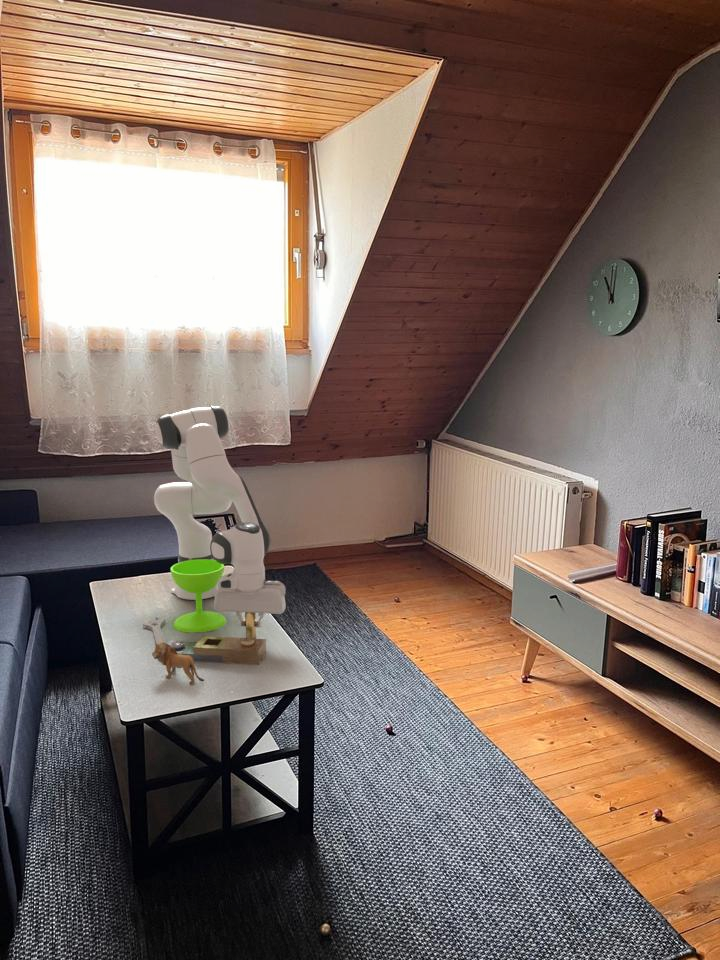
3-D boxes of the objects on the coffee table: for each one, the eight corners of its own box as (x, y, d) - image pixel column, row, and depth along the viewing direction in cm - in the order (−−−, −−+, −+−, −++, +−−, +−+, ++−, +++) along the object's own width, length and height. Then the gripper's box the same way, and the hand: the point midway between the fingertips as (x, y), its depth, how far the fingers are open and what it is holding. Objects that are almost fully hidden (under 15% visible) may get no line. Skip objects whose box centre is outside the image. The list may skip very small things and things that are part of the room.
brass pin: (247, 640, 217) (246, 607, 216) (257, 641, 217) (256, 608, 215) (244, 644, 215) (243, 611, 213) (254, 645, 214) (253, 612, 212)
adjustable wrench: (168, 652, 210) (168, 647, 210) (144, 655, 209) (144, 649, 208) (164, 620, 234) (164, 615, 234) (143, 623, 232) (142, 617, 232)
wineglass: (177, 636, 221) (174, 577, 218) (169, 617, 235) (166, 562, 232) (231, 628, 227) (229, 571, 223) (220, 610, 241) (218, 557, 238)
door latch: (170, 647, 213) (169, 630, 212) (266, 652, 209) (265, 635, 208) (159, 658, 205) (158, 641, 204) (258, 664, 201) (258, 647, 200)
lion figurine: (149, 678, 194) (148, 645, 192) (162, 669, 199) (160, 637, 197) (198, 687, 189) (197, 653, 187) (210, 678, 193) (208, 645, 192)
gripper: (287, 578, 214) (288, 623, 217) (218, 575, 217) (220, 620, 219) (282, 585, 208) (283, 632, 210) (211, 582, 211) (213, 628, 213)
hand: (250, 626), depth 215 cm, fingers closed on brass pin, 3 cm apart
